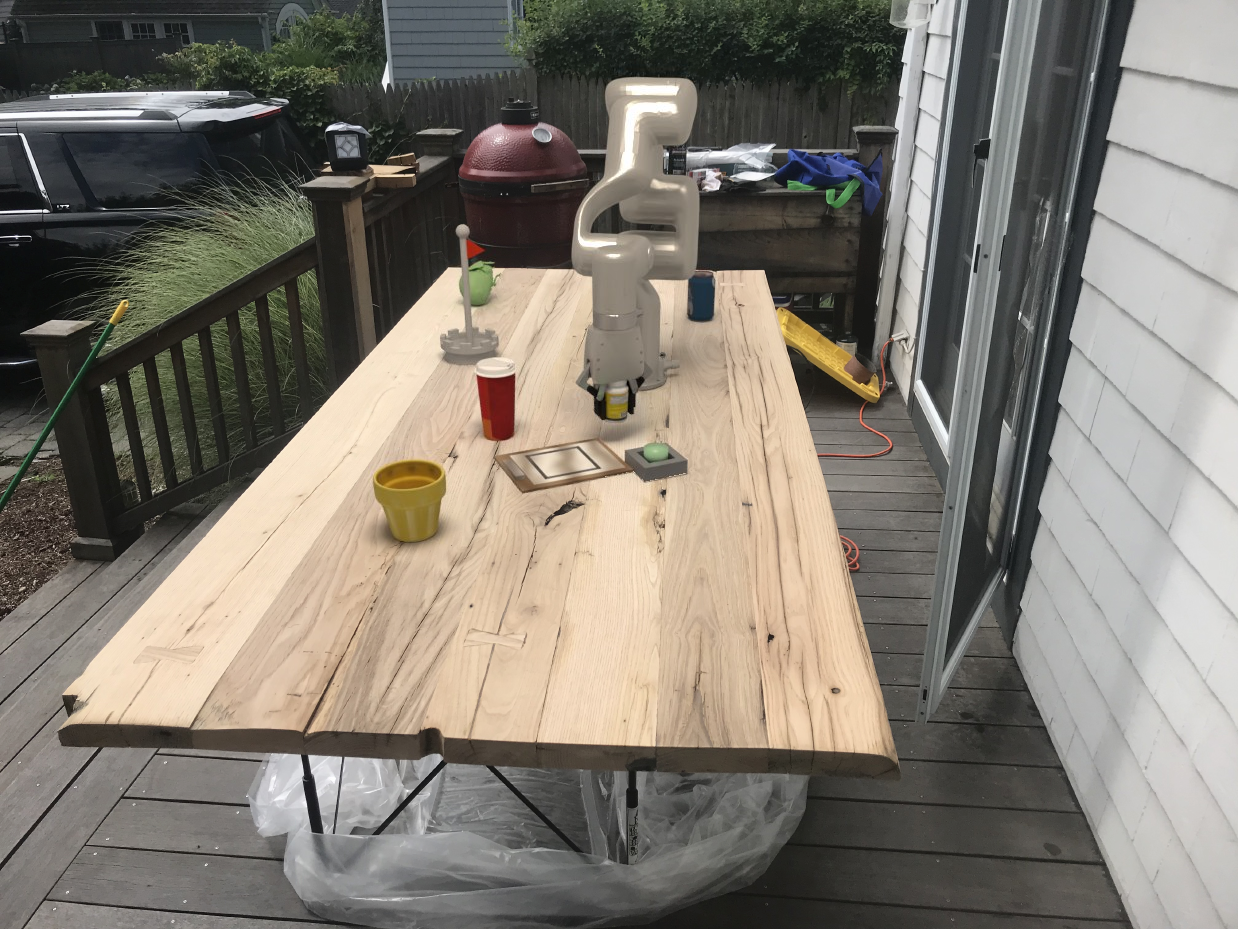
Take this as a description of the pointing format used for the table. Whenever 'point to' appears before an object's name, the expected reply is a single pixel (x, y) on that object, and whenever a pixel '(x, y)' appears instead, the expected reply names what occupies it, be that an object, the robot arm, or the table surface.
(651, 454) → the button
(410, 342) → the table surface
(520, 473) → the brown bordered board
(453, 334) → the flag stand
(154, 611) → the table surface
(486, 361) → the paper cup
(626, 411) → the supplement bottle
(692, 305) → the soda can
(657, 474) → the button housing
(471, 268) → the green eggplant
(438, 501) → the plant pot
